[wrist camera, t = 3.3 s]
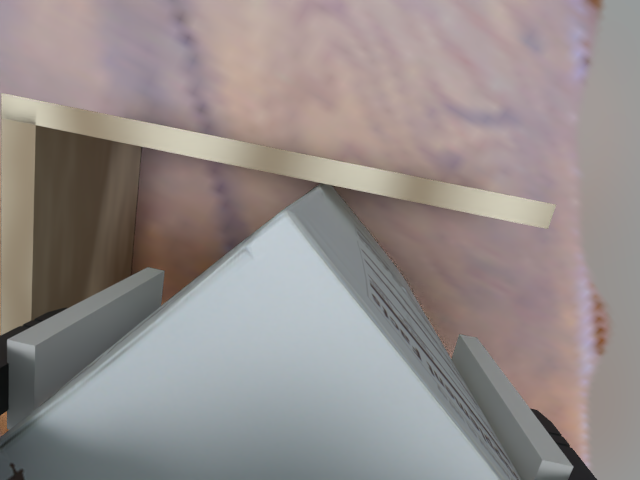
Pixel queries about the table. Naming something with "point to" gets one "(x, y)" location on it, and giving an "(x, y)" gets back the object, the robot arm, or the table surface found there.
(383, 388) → the supplement box
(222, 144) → the shelf bay
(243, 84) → the table surface
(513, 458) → the robot arm
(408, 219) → the table surface
